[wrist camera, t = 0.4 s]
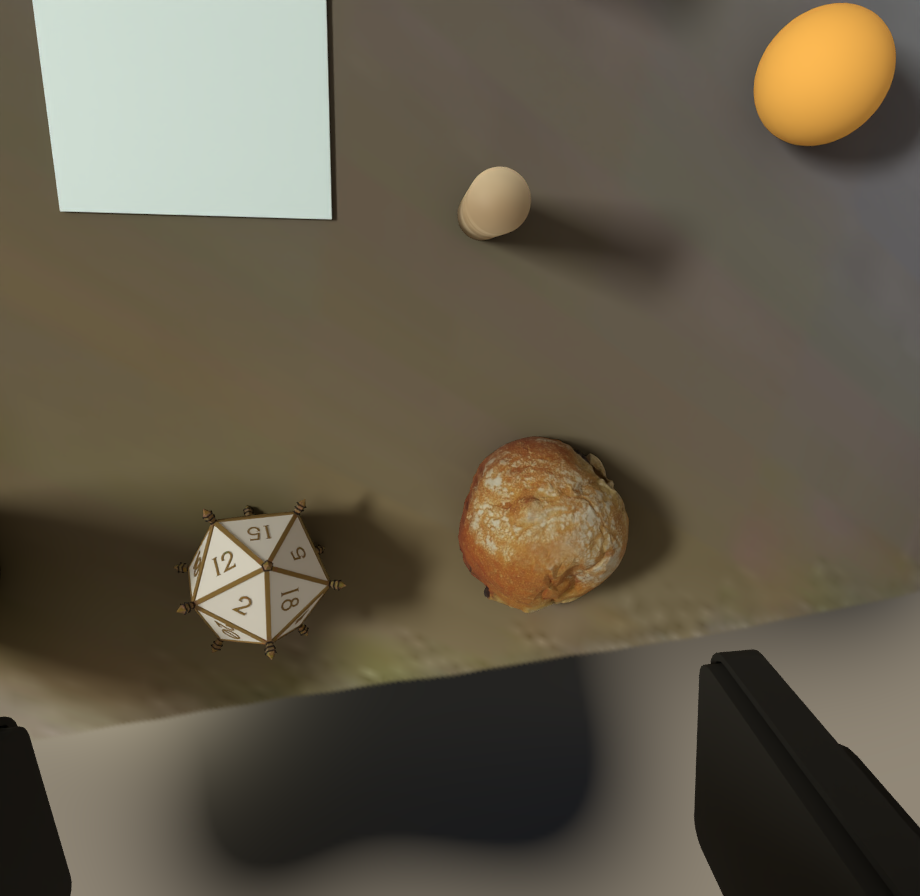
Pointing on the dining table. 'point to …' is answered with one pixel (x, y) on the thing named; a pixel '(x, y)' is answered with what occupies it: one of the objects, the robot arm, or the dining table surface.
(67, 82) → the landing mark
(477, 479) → the bread roll
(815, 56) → the ball
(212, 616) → the game die
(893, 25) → the dining table surface
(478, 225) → the post
